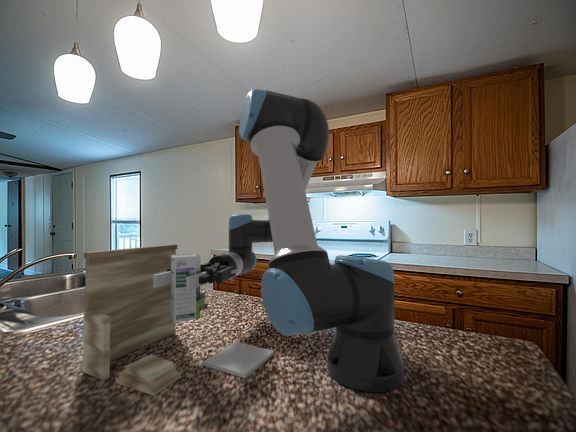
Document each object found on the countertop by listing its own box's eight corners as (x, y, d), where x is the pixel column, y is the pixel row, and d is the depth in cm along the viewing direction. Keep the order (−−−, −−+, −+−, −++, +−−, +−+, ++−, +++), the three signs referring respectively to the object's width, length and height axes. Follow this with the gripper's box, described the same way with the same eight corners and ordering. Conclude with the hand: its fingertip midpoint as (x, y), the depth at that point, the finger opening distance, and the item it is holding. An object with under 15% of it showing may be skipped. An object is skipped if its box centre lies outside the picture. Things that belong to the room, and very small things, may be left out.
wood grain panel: (193, 336, 74) (193, 245, 74) (103, 380, 54) (104, 254, 54) (172, 331, 78) (172, 244, 78) (80, 370, 57) (81, 252, 58)
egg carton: (206, 302, 106) (206, 292, 106) (204, 309, 98) (204, 297, 98) (176, 304, 104) (176, 293, 104) (172, 310, 96) (172, 298, 96)
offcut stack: (182, 377, 55) (182, 359, 55) (154, 397, 49) (154, 377, 49) (146, 367, 59) (146, 350, 59) (115, 384, 53) (115, 365, 53)
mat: (273, 354, 64) (273, 351, 64) (245, 378, 54) (245, 374, 54) (235, 344, 69) (235, 341, 69) (203, 365, 59) (203, 361, 59)
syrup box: (173, 323, 60) (174, 256, 61) (170, 315, 65) (170, 254, 66) (200, 319, 63) (200, 255, 63) (195, 312, 68) (195, 252, 69)
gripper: (257, 281, 78) (212, 303, 57) (194, 277, 85) (132, 296, 63) (257, 254, 79) (212, 266, 57) (195, 253, 85) (133, 263, 63)
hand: (170, 282), depth 60 cm, fingers closed on syrup box, 8 cm apart
